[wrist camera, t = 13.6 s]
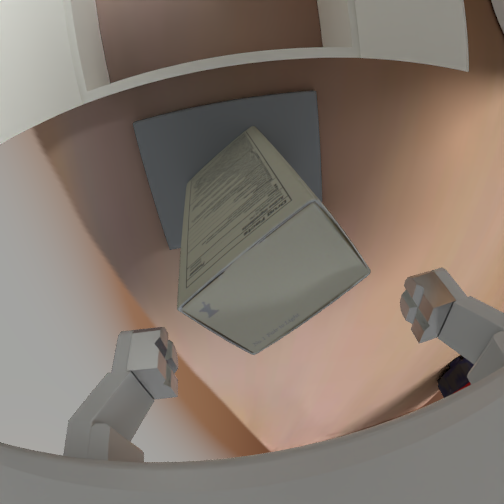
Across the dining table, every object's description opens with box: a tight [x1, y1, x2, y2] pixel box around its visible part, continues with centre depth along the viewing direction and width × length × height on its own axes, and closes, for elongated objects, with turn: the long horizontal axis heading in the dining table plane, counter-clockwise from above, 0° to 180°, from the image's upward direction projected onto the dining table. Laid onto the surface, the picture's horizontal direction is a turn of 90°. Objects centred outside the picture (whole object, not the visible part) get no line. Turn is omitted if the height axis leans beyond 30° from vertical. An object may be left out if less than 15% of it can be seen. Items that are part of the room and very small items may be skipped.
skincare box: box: [177, 126, 371, 355], centre depth 16 cm, size 6×4×12 cm
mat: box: [133, 90, 322, 250], centre depth 21 cm, size 12×10×1 cm
